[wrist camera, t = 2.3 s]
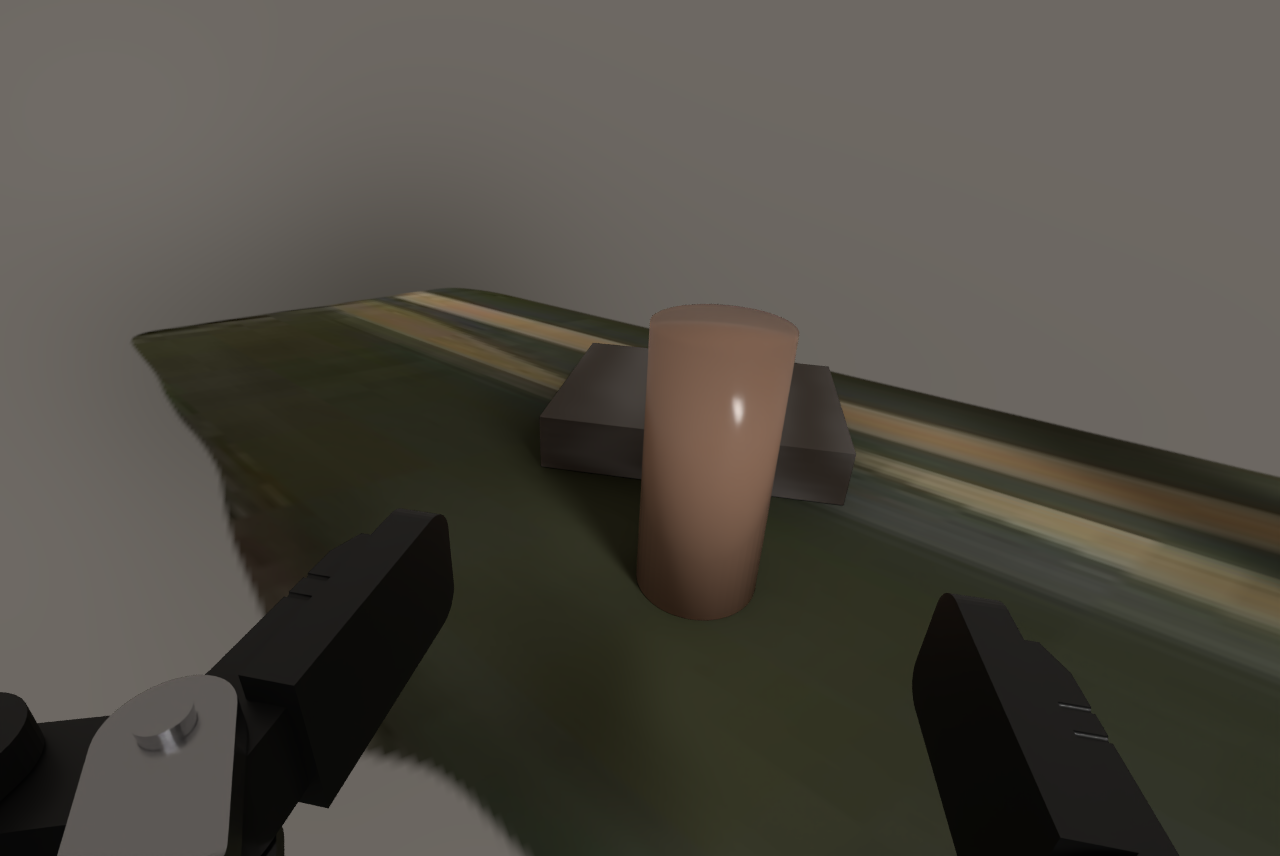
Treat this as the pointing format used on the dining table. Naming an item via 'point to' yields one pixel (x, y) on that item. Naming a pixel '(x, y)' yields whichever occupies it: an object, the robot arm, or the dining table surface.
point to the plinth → (615, 415)
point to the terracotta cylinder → (710, 454)
